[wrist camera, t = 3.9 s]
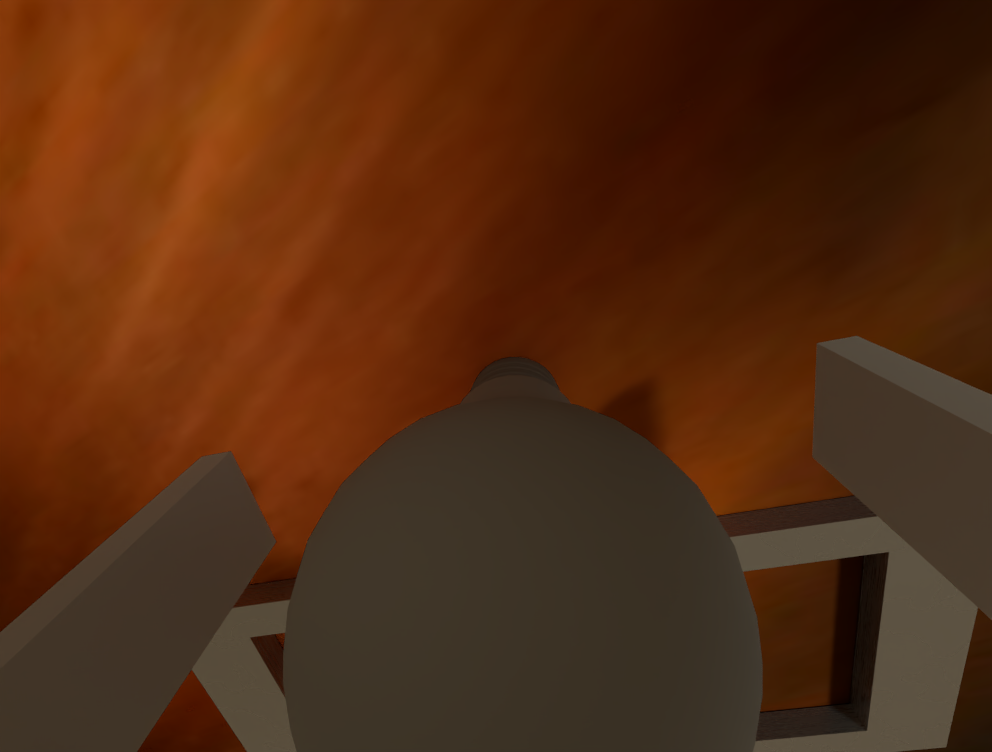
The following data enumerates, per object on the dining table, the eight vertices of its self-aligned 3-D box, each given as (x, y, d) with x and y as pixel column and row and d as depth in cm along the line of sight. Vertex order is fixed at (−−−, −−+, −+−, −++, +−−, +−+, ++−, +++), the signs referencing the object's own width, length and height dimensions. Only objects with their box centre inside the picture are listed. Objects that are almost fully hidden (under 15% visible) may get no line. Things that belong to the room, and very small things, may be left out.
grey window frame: (175, 596, 18) (156, 620, 17) (971, 478, 15) (1004, 499, 14) (293, 779, 22) (282, 807, 21) (924, 719, 19) (947, 748, 18)
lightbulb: (590, 256, 12) (933, 573, 2) (635, 445, 15) (915, 1039, 4) (382, 321, 13) (-33, 756, 3) (453, 490, 16) (341, 1071, 5)
